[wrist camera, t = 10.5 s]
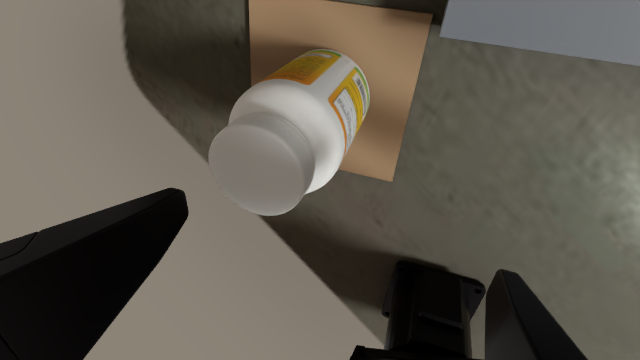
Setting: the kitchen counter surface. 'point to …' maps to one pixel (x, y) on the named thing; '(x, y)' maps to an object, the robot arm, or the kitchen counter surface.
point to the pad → (364, 49)
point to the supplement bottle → (290, 132)
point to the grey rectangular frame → (550, 26)
